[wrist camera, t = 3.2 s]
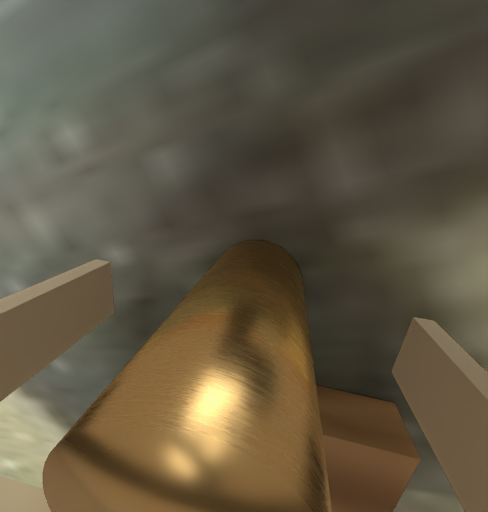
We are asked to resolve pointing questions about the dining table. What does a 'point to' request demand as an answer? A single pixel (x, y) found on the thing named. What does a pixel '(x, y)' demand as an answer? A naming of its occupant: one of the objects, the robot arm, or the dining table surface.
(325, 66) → the dining table surface
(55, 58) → the dining table surface
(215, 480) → the golden brass cylinder
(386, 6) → the dining table surface
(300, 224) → the dining table surface
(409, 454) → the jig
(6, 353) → the robot arm
